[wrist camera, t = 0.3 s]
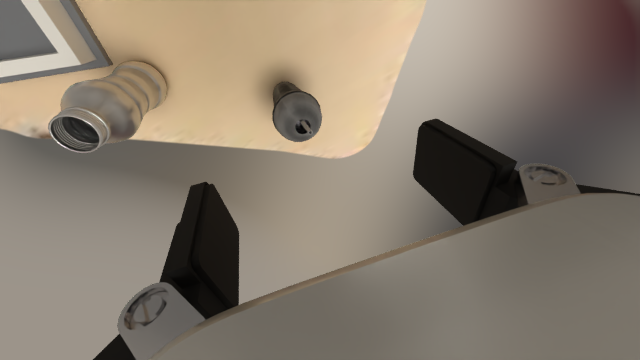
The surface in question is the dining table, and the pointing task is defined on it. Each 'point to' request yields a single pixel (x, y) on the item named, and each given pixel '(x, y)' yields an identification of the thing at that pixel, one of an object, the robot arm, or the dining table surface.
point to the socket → (46, 40)
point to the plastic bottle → (107, 107)
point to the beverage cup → (295, 113)
